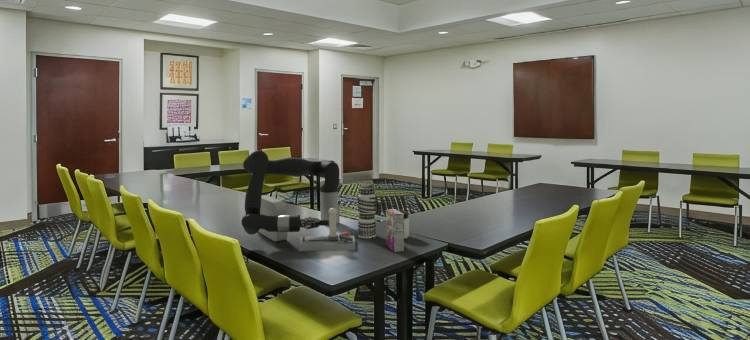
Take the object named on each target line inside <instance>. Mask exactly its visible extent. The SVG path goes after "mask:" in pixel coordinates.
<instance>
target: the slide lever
mask: <svg viewBox="0 0 750 340" xmlns="http://www.w3.org/2000/svg"><path fill="white" fill-rule="evenodd" d="M328 213H329V225H328V226H329V229H328V230H329V234H328V235H327V236H328V241H331V240H338V236H339V234H338V233H337V224H336V214H337V210H336V209H335V208H330V209H329V211H328Z"/></svg>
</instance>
